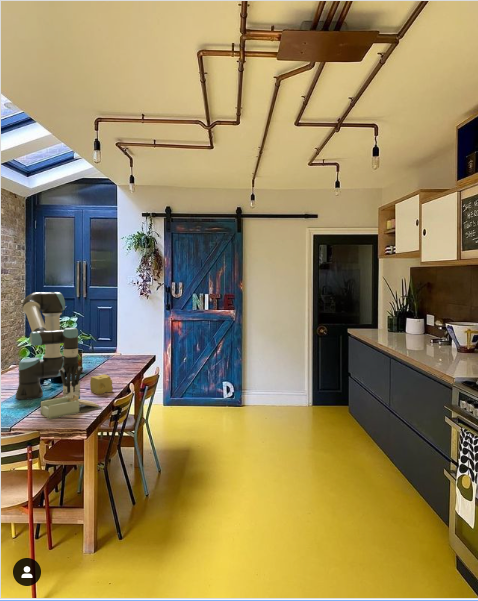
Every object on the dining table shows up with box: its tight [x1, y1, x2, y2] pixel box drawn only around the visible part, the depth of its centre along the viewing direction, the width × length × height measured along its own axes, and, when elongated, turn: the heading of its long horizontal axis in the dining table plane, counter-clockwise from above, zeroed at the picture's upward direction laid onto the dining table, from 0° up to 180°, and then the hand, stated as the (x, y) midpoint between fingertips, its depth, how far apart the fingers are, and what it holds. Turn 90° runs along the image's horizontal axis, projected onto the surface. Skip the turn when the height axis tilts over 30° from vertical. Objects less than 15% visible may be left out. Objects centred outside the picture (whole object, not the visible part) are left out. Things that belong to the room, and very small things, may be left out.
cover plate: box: [67, 394, 100, 407], centre depth 236 cm, size 9×15×4 cm, turn 135°
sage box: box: [40, 396, 80, 420], centre depth 227 cm, size 12×16×7 cm
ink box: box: [62, 380, 81, 399], centre depth 250 cm, size 9×5×12 cm, turn 141°
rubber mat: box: [79, 404, 103, 413], centre depth 238 cm, size 14×12×1 cm
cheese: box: [89, 374, 114, 395], centre depth 272 cm, size 10×11×10 cm
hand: (70, 398), depth 231 cm, fingers closed
